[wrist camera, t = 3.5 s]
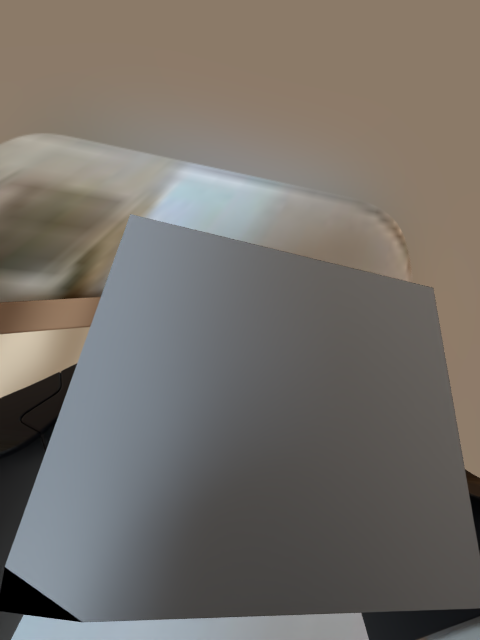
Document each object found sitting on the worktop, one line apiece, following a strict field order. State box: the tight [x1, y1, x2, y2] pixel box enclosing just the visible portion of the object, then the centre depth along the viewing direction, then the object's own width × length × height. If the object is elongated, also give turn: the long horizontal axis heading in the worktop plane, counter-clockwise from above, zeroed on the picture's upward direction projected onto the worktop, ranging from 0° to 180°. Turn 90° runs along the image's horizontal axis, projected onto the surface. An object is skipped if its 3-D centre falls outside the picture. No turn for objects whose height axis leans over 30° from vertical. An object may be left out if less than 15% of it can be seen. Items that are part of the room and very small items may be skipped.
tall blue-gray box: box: [0, 214, 480, 622], centre depth 9 cm, size 4×6×13 cm
